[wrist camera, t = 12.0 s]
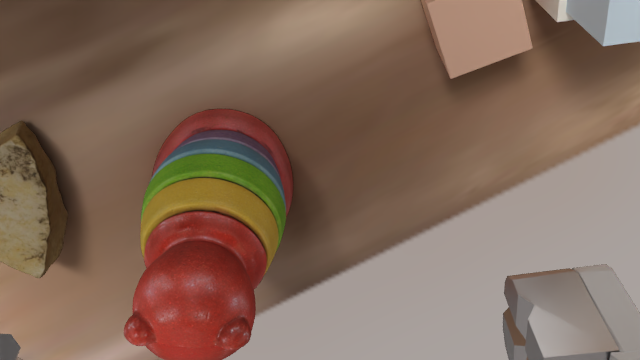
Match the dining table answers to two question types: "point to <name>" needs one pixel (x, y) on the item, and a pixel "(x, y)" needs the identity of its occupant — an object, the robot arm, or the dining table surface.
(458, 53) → the terracotta block
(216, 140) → the stacking bear
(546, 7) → the cream block
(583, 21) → the pale blue block
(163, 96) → the dining table surface
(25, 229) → the rock
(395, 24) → the dining table surface
